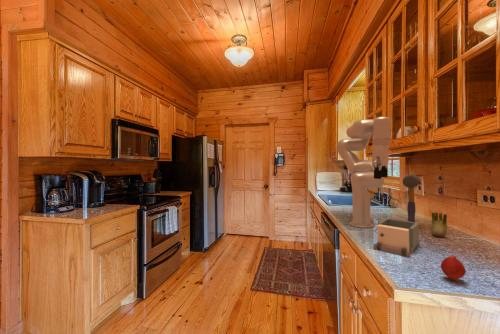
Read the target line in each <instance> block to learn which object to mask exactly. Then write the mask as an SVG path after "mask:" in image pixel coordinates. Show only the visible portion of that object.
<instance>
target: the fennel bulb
mask: <svg viewBox="0 0 500 334" xmlns="http://www.w3.org/2000/svg"><path fill="white" fill-rule="evenodd" d="M447 217H448V214H447V213H441V212H435V211H434V212H431V224H430V234H431V235H432V236H434V237H438V238H446V235H447V232H448V220H447V219H448V218H447Z"/></svg>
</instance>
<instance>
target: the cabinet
mask: <svg viewBox="0 0 500 334" xmlns="http://www.w3.org/2000/svg"><path fill="white" fill-rule="evenodd" d="M379 224H380V225H387V226H393V227H399V228H405V229H409V251H407V248H401V250H400V249H396V248H391V247H386V246H382V245H381V243H379V242H376V243H374V244H373V250H376V249H377V251H380V252H384V253H385V252H386V253H389V254H393V255H397V256H401V257H402V256H403V257H405V258H411V254H414V252H415V251H416V250H417V249H418V247H419V246H420V223H419V222H416V221H415V222H408V220H400V219H394V218H393V219H392V218H387V217H386V218H384V219H382V220H381V221H379V222H378V223H377V225H379Z"/></svg>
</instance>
